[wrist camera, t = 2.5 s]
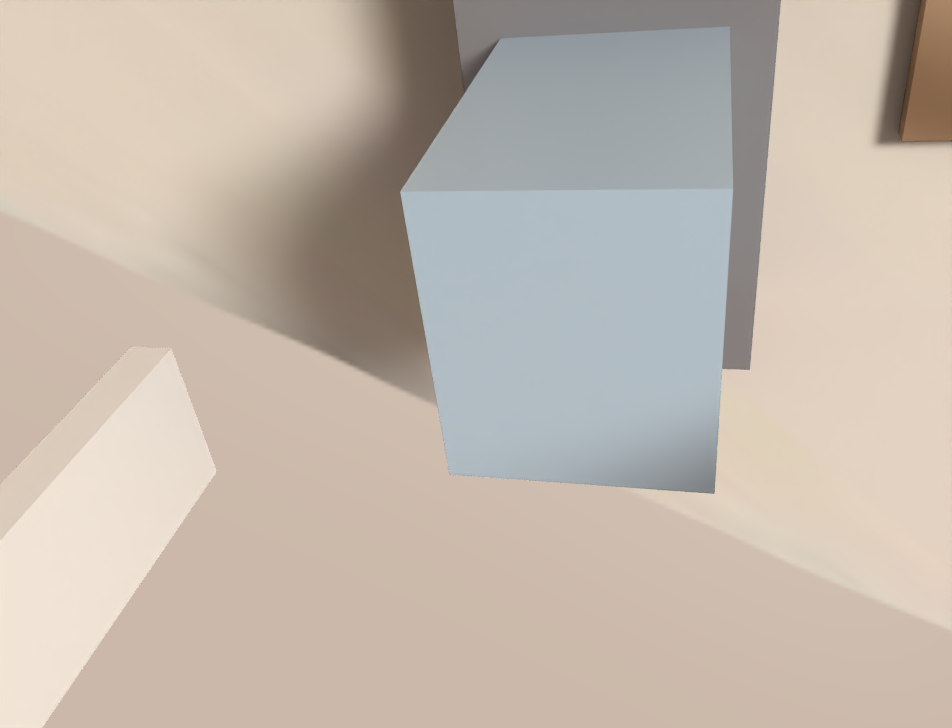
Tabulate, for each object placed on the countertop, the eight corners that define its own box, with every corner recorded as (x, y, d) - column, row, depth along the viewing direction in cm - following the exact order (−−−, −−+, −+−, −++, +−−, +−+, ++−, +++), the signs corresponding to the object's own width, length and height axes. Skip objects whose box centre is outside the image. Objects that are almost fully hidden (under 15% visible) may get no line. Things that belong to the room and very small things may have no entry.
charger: (518, 10, 22) (400, 191, 14) (729, -2, 21) (733, 189, 13) (536, 230, 25) (449, 477, 17) (717, 231, 24) (714, 496, 16)
